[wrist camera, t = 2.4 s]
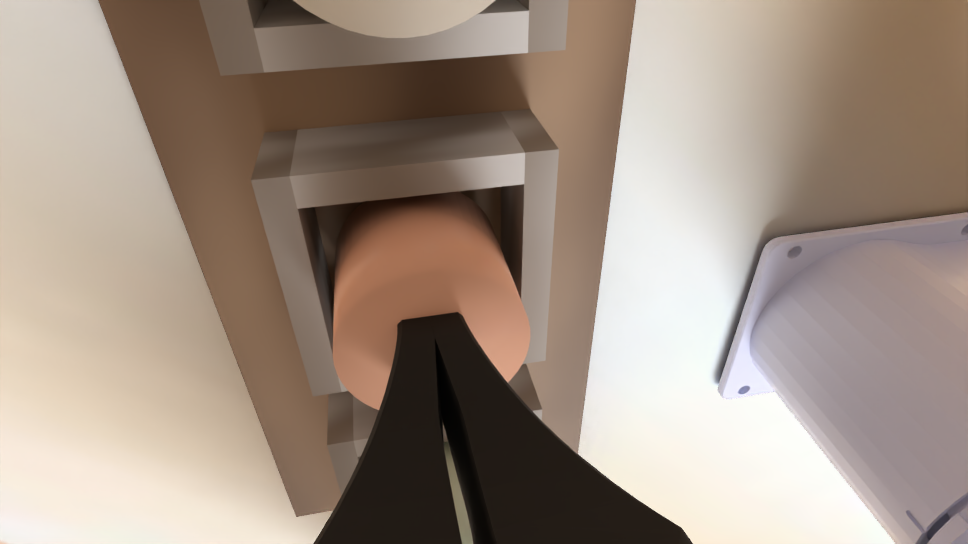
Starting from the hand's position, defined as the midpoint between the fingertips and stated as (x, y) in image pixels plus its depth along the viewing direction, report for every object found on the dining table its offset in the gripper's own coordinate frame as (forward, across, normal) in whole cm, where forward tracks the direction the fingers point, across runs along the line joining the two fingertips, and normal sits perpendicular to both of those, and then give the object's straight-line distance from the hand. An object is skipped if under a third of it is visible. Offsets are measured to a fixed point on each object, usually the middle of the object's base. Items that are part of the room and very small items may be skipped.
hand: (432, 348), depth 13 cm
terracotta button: (+4, 0, 0) cm, 4 cm away
